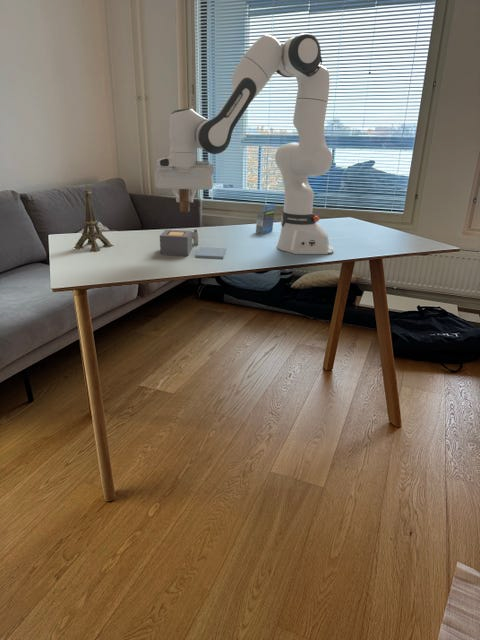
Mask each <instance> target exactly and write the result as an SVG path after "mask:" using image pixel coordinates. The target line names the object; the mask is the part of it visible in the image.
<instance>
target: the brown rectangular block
mask: <svg viewBox="0 0 480 640" xmlns="http://www.w3.org/2000/svg"><path fill="white" fill-rule="evenodd" d="M178 192H179V193H178V196H179V197H180V202H179V212H180V213H190V212H191V211H190V210H191V208H190V207H191V205H190V204H191V202H188V201H189V200H188V197H190V189H178Z"/></svg>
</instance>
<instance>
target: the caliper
mask: <svg viewBox="0 0 480 640" xmlns="http://www.w3.org/2000/svg"><path fill="white" fill-rule="evenodd" d="M198 235H199V233H198V229H196V228H195V229H193V231H192V242H193V245H195V246H199V236H198Z"/></svg>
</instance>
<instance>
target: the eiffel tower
mask: <svg viewBox="0 0 480 640" xmlns="http://www.w3.org/2000/svg"><path fill="white" fill-rule="evenodd" d="M85 181H86V183H85V184H86V189H85V190H83V194H85V206H84V207H85V213H84V217H85V218H84V220H83V221H82V222H83V224H84V227H83V231H82V232H81V236H80V238H79V239H78V240H77V242H76V243H75V245H74V247H73V248H75V249H74V250H81V249H80V248H82V249H84V246H83V245H84V244H85V245H90V244H91V248H90V250H89V252H92V251H93V252H95V253H97V252H100V250H101V249H100V246H99V245H98V242H97V241H96V240H97V239H98V240H99V241H100V242H102V244H103V245H102V246H103V247H104V248H111V247H114V244H112V243H111V242H110V241H109V240H108V238H106V236H104V235H103V231H101V230H100V229H101V228H99V225H98V223H99V220H98V219H96V214H95V210H94V206H93V201H92V197H91V194H92V193H93V192H92V190H91V189H89V187H88V182H87V179H85ZM86 241H87V242H86ZM85 242H86V243H85ZM93 252H92V253H93Z"/></svg>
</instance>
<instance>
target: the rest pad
mask: <svg viewBox="0 0 480 640" xmlns="http://www.w3.org/2000/svg"><path fill="white" fill-rule="evenodd" d="M226 251H227V248H226V247H213V246H212V247H211V246H210V247H208V246H199V248H198V250H197V252H196V254H195V258H201V259H203V258H204V259H224V257H225V254H226Z"/></svg>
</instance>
